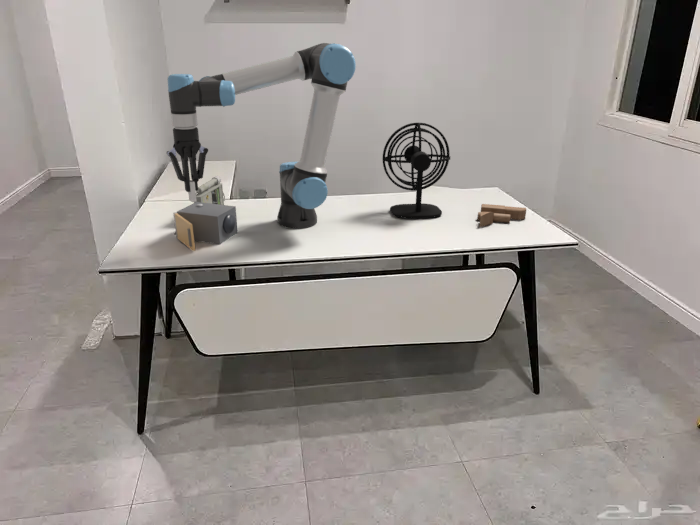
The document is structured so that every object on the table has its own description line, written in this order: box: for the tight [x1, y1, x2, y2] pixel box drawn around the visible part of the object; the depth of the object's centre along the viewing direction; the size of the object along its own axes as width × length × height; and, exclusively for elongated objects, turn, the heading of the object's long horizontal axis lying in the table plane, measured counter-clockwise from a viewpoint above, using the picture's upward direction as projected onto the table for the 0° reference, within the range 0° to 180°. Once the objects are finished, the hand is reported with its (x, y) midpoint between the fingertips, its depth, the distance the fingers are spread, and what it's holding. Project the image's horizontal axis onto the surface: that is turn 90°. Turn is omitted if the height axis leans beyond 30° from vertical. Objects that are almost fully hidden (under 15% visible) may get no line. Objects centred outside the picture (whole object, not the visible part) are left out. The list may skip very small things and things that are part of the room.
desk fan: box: [382, 122, 451, 219], centre depth 212 cm, size 27×18×35 cm, turn 97°
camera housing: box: [176, 202, 239, 245], centre depth 191 cm, size 17×12×11 cm
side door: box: [173, 211, 196, 252], centre depth 183 cm, size 15×2×9 cm, turn 36°
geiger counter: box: [193, 175, 226, 205], centre depth 214 cm, size 14×6×25 cm
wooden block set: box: [477, 203, 527, 228], centre depth 208 cm, size 17×6×18 cm
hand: (192, 200), depth 177 cm, fingers closed
